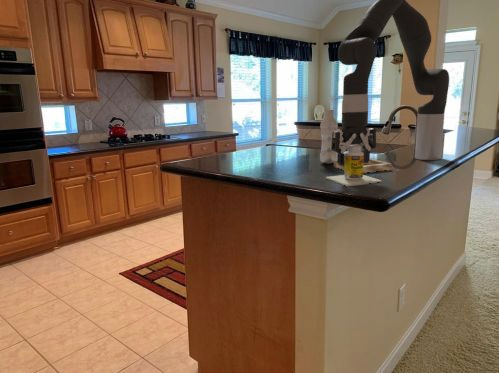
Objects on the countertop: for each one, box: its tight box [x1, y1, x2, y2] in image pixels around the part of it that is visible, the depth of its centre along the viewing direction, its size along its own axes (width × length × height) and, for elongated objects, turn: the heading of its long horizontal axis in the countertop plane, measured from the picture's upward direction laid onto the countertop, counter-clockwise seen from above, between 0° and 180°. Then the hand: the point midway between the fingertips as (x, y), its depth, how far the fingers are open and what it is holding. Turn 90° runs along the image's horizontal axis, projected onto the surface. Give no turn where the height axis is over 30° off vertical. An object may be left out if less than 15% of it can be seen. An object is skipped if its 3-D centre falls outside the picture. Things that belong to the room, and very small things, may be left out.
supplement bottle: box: [343, 144, 364, 180], centre depth 118 cm, size 6×6×10 cm
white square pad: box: [325, 174, 383, 187], centre depth 119 cm, size 12×12×1 cm
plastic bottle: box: [319, 109, 339, 165], centre depth 145 cm, size 6×7×20 cm
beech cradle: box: [333, 158, 392, 174], centre depth 136 cm, size 14×14×2 cm
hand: (353, 164), depth 118 cm, fingers open, 8 cm apart
